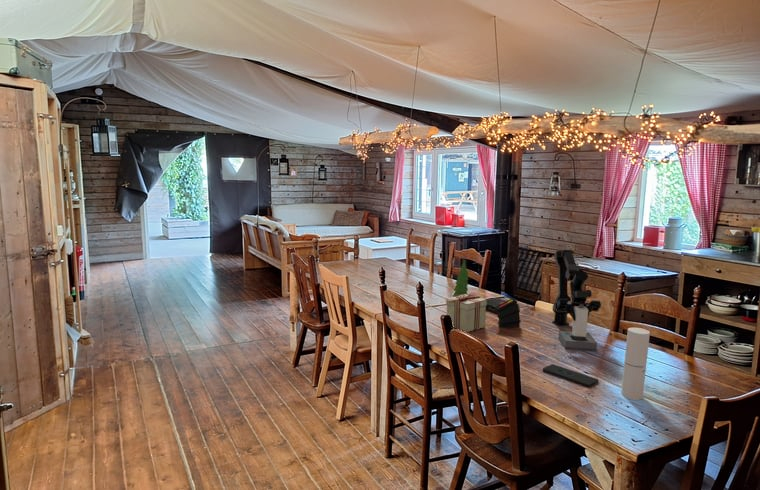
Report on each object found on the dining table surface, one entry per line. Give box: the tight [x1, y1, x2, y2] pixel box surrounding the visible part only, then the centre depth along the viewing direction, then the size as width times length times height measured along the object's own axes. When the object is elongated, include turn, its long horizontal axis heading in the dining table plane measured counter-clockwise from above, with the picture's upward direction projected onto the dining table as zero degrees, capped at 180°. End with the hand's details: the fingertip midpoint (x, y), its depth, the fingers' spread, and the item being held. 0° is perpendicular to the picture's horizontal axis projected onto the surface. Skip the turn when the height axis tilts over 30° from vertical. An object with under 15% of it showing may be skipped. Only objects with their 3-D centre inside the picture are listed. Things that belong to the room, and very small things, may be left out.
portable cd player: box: [486, 297, 520, 315], centre depth 296 cm, size 16×17×4 cm
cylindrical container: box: [620, 327, 651, 401], centre depth 184 cm, size 7×7×25 cm
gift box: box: [444, 292, 488, 333], centre depth 261 cm, size 17×18×17 cm
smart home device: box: [542, 363, 599, 388], centre depth 202 cm, size 8×2×20 cm
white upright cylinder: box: [571, 304, 589, 337], centre depth 235 cm, size 5×5×15 cm
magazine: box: [495, 297, 522, 329], centre depth 262 cm, size 4×13×15 cm, turn 103°
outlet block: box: [558, 330, 598, 352], centre depth 238 cm, size 14×14×4 cm
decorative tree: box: [452, 259, 469, 297], centre depth 290 cm, size 10×9×30 cm
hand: (580, 320), depth 233 cm, fingers closed on white upright cylinder, 5 cm apart
